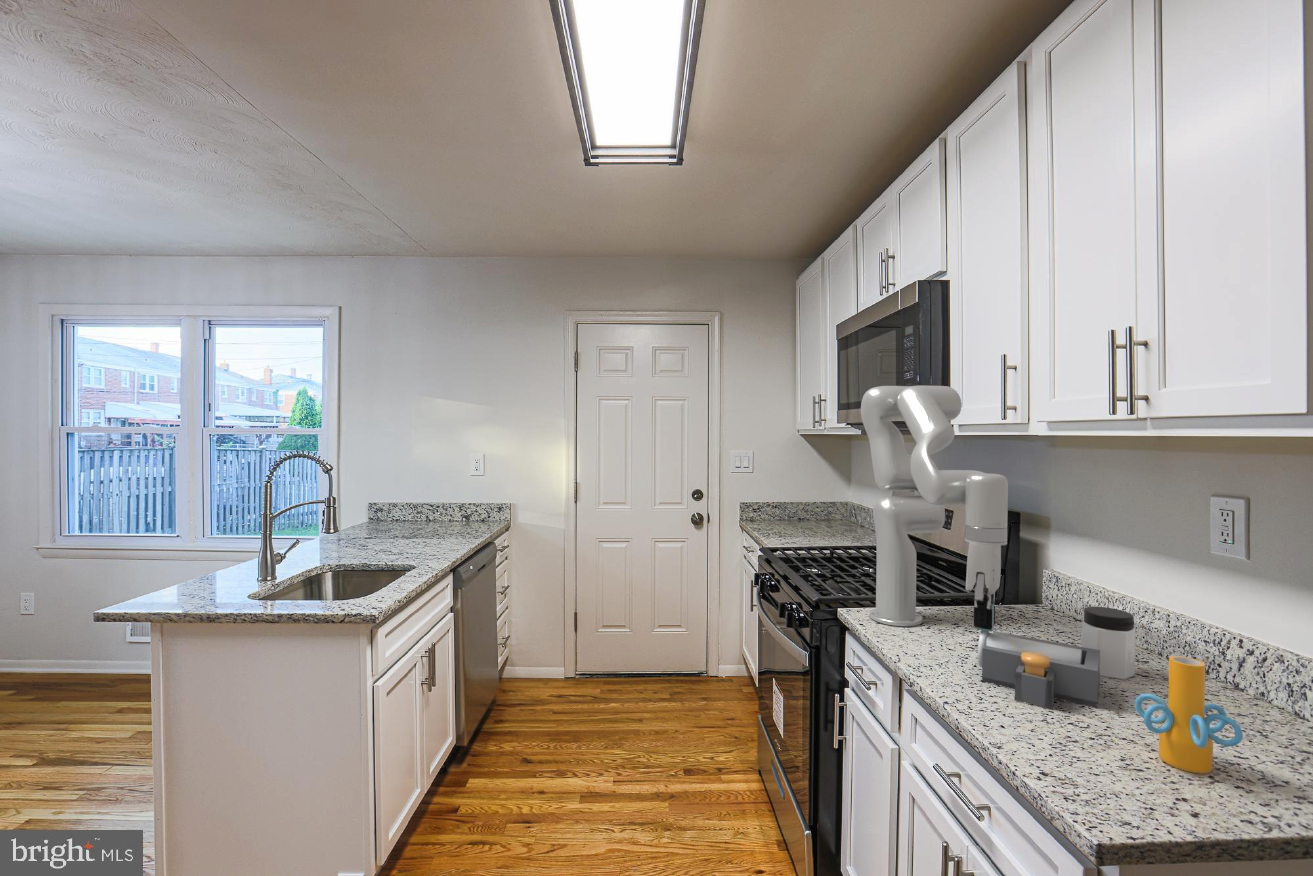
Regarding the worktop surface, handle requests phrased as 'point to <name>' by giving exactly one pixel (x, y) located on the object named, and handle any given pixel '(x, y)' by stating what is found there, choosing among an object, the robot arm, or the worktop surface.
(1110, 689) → the worktop surface
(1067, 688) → the housing
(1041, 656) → the plunger
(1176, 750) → the ringed yellow tube
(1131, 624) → the jar
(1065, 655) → the cartridge
